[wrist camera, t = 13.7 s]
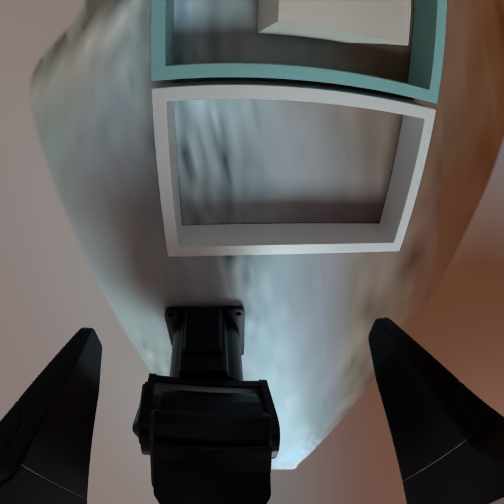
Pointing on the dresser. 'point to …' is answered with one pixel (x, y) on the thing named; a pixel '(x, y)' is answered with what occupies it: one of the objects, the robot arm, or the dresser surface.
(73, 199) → the dresser surface
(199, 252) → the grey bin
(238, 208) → the dresser surface
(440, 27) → the teal bin
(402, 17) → the cream block
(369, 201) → the dresser surface
